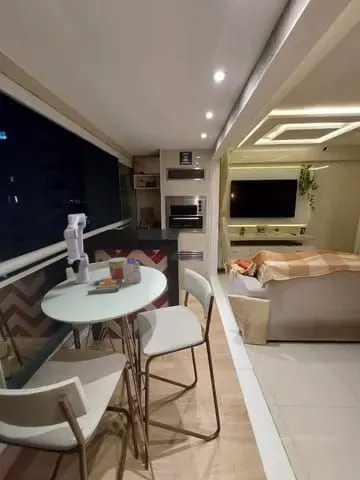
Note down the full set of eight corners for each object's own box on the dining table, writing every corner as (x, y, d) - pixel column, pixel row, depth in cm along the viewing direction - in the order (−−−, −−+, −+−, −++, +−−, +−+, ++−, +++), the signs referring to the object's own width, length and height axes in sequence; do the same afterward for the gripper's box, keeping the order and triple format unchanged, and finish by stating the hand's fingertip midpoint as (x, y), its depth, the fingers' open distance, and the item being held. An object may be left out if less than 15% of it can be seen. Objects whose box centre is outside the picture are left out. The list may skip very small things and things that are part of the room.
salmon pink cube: (105, 283, 151) (104, 276, 150) (112, 282, 152) (111, 275, 151) (104, 285, 147) (103, 278, 147) (111, 284, 148) (110, 278, 147)
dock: (95, 283, 157) (95, 280, 157) (122, 281, 158) (122, 278, 158) (87, 295, 140) (87, 291, 140) (117, 292, 141) (117, 288, 141)
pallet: (100, 286, 153) (100, 282, 153) (117, 284, 154) (117, 280, 154) (98, 291, 145) (97, 287, 145) (116, 289, 147) (115, 285, 146)
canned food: (107, 277, 168) (105, 260, 165) (122, 273, 175) (120, 256, 173) (115, 281, 159) (113, 262, 157) (131, 276, 167) (129, 258, 164)
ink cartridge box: (141, 279, 160) (139, 257, 157) (140, 282, 154) (138, 259, 152) (125, 280, 159) (123, 258, 157) (124, 284, 154) (121, 260, 151)
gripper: (70, 247, 153) (73, 269, 155) (61, 253, 139) (64, 277, 141) (82, 246, 153) (85, 268, 156) (74, 252, 139) (77, 276, 141)
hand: (76, 272), depth 148 cm, fingers closed
